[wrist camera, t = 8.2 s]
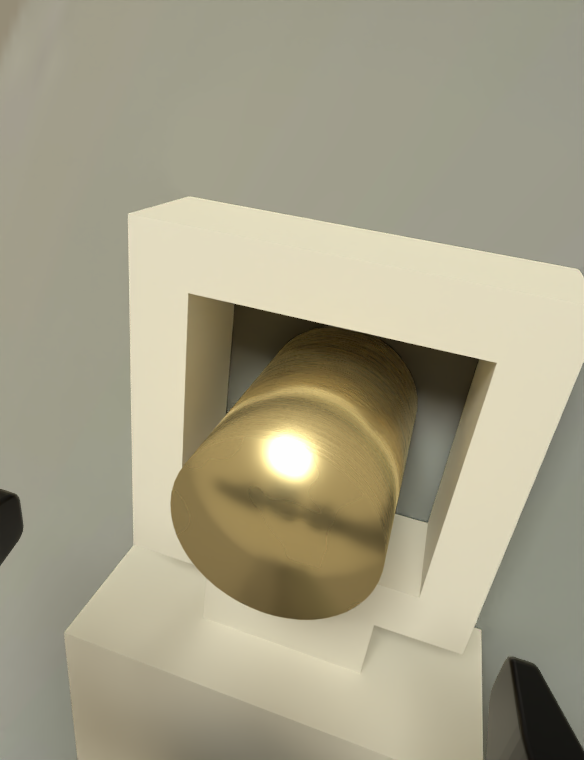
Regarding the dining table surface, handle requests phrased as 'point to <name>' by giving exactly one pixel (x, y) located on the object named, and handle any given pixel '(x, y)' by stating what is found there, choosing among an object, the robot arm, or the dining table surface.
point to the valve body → (408, 536)
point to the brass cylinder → (302, 478)
